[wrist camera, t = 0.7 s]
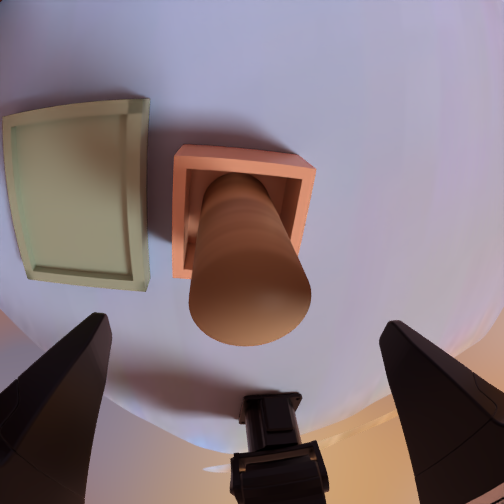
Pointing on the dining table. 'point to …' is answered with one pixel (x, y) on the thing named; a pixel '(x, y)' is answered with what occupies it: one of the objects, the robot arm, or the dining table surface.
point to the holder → (229, 161)
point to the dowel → (245, 266)
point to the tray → (81, 192)
